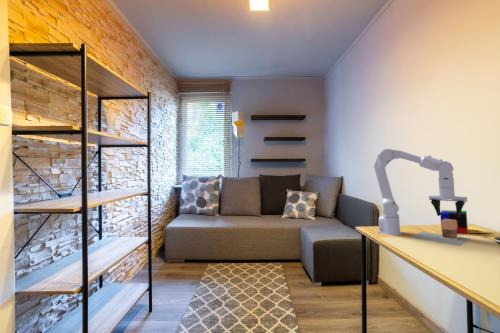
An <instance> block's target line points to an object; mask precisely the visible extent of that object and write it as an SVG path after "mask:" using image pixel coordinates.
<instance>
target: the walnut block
mask: <svg viewBox="0 0 500 333" xmlns="http://www.w3.org/2000/svg"><path fill="white" fill-rule="evenodd" d="M441 233H442V236H443V238H450V239H455V238H457V237H458V233H457V229H455V230H446V229H442V230H441Z"/></svg>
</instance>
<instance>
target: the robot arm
mask: <svg viewBox="0 0 500 333" xmlns="http://www.w3.org/2000/svg"><path fill="white" fill-rule="evenodd" d="M396 159H397V160H398V159H403V160H406V161H409V162H414V163H417V164H418V165H419V167H421V168H423V169H426V170H427V169H428V170H430V171H433V172H436V171H438V189H439V190H438V191H439V193H438V194H439V195H429V196H428V201H430V203H431V205H432V206H433V208H434V210H435V212H436V216H437V217H439V216H440V215H441V201H443V202H444V201H445V202H448V201H449V202H454V204H455V210H456V211H457V218H459V217H460V214H461V210H463V208H464V206H465V204H466V203H467V202H468V196H456V195H455V194H456V193H455V192H456V191H455V181H454V180H455V179H454V173H453V171H454V166H453V165H452V163H451V162H448V161H447V160H444V159H441V158H440V159H438V158H435V157H432V156H431V155H424V156H418V155H415V154H412V153H410V152H407V151H403V150H397V149H392V148H383V149H381V151H379V153H378V154H377V155H376V159H375V162H374V165H373V168H374V172H375V175H376V179H377V183H378V186H379V190H380V194H381V199H382V206H383V208H382V212H383V215H380V216H379V217H378V234H383V235H390V236H395V237H396V236H399V235H402V234H404V231H401V223H400V221H401V220H400V215H399V213H398V212H399V208H400V207H399V204H397V203H396V200H395V198H394V195H393V192H392V189H391V185H390V181H389V179H388V175H387V171H386V167H387V166H388V165H389V163H390V162H391V161H393V160H396ZM440 217H441V216H440Z"/></svg>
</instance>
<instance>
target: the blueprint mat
mask: <svg viewBox="0 0 500 333" xmlns="http://www.w3.org/2000/svg"><path fill="white" fill-rule="evenodd" d="M409 238H410V239H415V240H422V241H428V242H433V243H440V244H441V243H442V244H445V245H446V244H447V245H454V246H459V247H461V246H463V245H464V244H465V243H467V242H468V241H469V240H471V238H470V237H463V236H457V238H455V239H450V238H443V236H442V234H440V233H434V232H425V231H420V232H418V233H416V234H414V235H413V236H410V237H409Z"/></svg>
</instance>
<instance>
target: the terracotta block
mask: <svg viewBox="0 0 500 333" xmlns="http://www.w3.org/2000/svg"><path fill="white" fill-rule="evenodd" d="M441 224H442V229H446V230H455V229H457V225H456V220H452V219H443V220H441V219H440V225H441Z"/></svg>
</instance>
